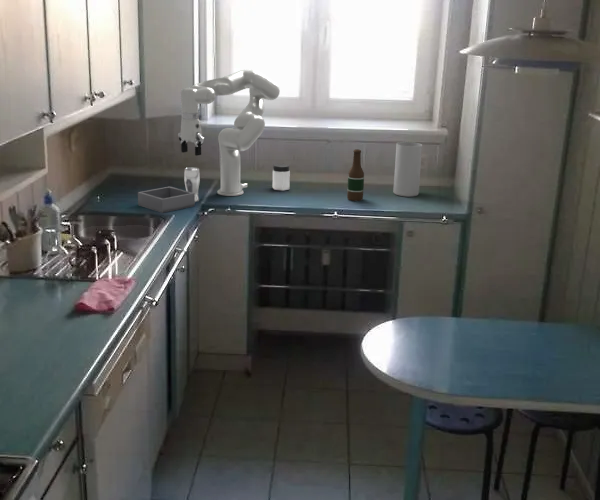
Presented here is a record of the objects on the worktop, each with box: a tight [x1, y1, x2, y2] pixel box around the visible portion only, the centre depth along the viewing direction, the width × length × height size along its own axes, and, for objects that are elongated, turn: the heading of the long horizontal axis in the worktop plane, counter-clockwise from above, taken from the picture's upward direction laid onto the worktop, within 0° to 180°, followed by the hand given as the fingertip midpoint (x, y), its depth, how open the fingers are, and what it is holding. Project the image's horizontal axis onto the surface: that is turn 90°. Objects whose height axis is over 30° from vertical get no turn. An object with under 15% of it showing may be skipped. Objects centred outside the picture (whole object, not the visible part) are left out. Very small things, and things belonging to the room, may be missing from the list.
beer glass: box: [183, 167, 201, 203], centre depth 352 cm, size 7×7×15 cm
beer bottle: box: [346, 149, 365, 202], centre depth 361 cm, size 8×8×24 cm
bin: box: [137, 186, 196, 214], centre depth 343 cm, size 18×18×6 cm
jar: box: [272, 163, 291, 191], centre depth 381 cm, size 9×8×12 cm
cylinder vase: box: [392, 141, 423, 198], centre depth 375 cm, size 12×12×25 cm
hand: (191, 153), depth 348 cm, fingers open, 9 cm apart
